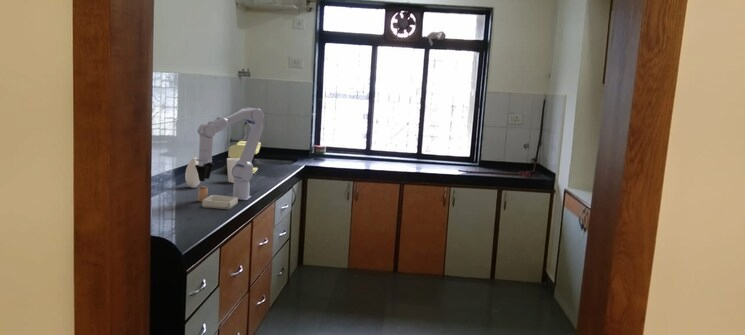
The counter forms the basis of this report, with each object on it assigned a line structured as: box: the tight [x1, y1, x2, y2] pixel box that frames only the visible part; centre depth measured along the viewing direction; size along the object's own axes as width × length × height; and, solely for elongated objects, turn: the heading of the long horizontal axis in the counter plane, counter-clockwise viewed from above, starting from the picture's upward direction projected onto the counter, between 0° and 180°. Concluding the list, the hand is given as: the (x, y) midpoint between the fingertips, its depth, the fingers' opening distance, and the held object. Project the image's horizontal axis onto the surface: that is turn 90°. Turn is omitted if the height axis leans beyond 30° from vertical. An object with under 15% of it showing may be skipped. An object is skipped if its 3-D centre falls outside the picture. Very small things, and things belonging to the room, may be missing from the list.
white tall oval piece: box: [184, 152, 201, 189], centre depth 292 cm, size 8×8×18 cm
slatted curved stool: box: [227, 140, 262, 174], centre depth 365 cm, size 30×16×18 cm, turn 5°
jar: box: [197, 185, 209, 203], centre depth 261 cm, size 4×4×7 cm
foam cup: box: [226, 157, 241, 184], centre depth 320 cm, size 10×9×13 cm
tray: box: [201, 194, 239, 210], centre depth 256 cm, size 14×12×3 cm
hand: (204, 179), depth 260 cm, fingers open, 7 cm apart
